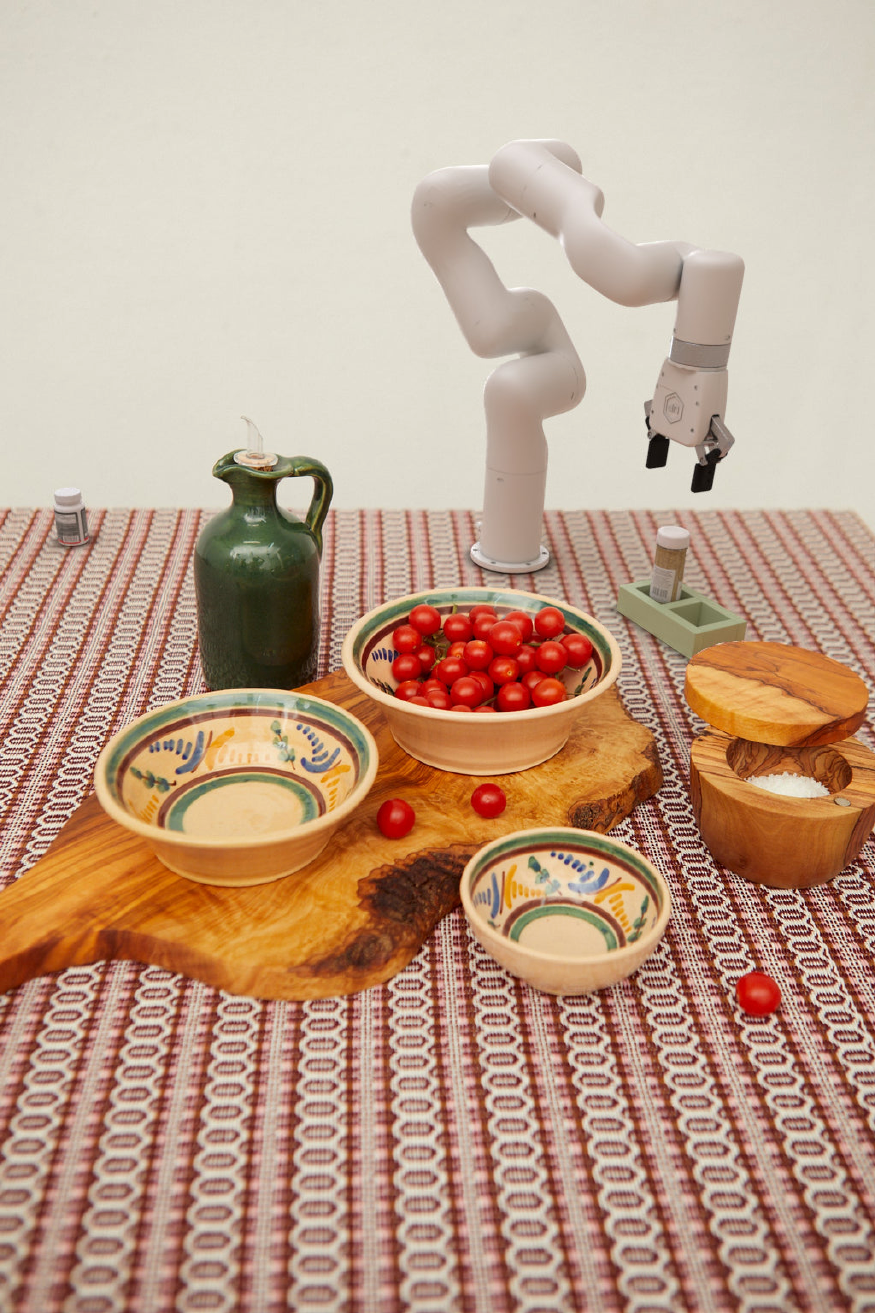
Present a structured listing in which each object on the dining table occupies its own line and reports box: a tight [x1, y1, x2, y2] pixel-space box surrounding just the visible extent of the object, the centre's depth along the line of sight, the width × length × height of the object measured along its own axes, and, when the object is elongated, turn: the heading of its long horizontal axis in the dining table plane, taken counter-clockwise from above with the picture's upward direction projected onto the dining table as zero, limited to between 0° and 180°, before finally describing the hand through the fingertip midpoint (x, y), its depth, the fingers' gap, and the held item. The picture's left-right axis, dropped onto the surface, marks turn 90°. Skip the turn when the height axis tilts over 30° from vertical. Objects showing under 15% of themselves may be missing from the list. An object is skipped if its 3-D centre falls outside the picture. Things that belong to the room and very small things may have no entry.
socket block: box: [616, 578, 748, 660], centre depth 155 cm, size 9×17×4 cm, turn 28°
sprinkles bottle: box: [650, 525, 691, 605], centre depth 156 cm, size 5×5×14 cm
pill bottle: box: [53, 487, 90, 547], centre depth 173 cm, size 5×5×8 cm
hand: (677, 478), depth 149 cm, fingers open, 9 cm apart
